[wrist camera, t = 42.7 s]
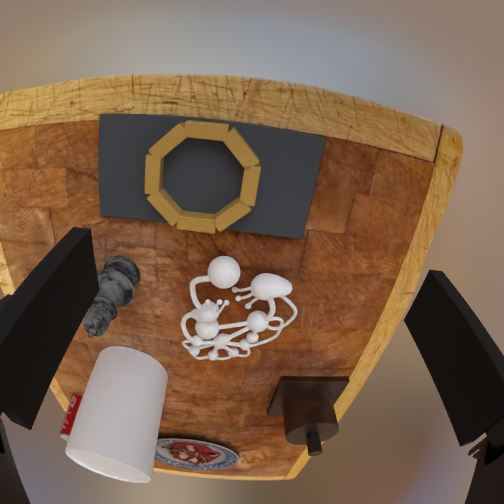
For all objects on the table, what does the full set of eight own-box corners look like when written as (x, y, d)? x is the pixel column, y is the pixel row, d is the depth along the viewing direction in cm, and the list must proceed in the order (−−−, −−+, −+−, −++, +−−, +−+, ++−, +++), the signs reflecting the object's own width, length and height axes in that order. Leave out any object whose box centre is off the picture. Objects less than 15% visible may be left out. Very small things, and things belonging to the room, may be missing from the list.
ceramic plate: (258, 453, 69) (258, 462, 67) (197, 468, 77) (196, 476, 75) (184, 423, 59) (183, 434, 56) (129, 441, 67) (127, 450, 64)
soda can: (75, 389, 53) (60, 433, 43) (96, 401, 55) (83, 444, 45) (71, 397, 56) (57, 437, 45) (90, 407, 57) (78, 448, 47)
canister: (139, 397, 53) (121, 483, 36) (86, 361, 48) (53, 451, 30) (183, 378, 49) (169, 481, 32) (123, 335, 44) (87, 445, 26)
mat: (324, 137, 30) (326, 138, 29) (300, 236, 36) (301, 239, 35) (102, 113, 27) (99, 114, 26) (103, 213, 33) (100, 215, 32)
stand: (348, 376, 51) (364, 435, 40) (325, 410, 57) (335, 462, 46) (281, 376, 49) (288, 441, 38) (266, 410, 56) (270, 466, 45)
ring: (266, 129, 28) (267, 131, 27) (248, 231, 34) (249, 238, 33) (152, 117, 27) (148, 119, 26) (148, 219, 33) (144, 225, 32)
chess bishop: (95, 259, 36) (56, 320, 26) (130, 249, 36) (95, 313, 25) (114, 293, 39) (85, 357, 29) (149, 286, 39) (124, 353, 28)
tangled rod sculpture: (247, 360, 49) (249, 381, 45) (163, 340, 44) (160, 361, 41) (310, 278, 39) (318, 299, 36) (207, 242, 35) (206, 263, 31)
